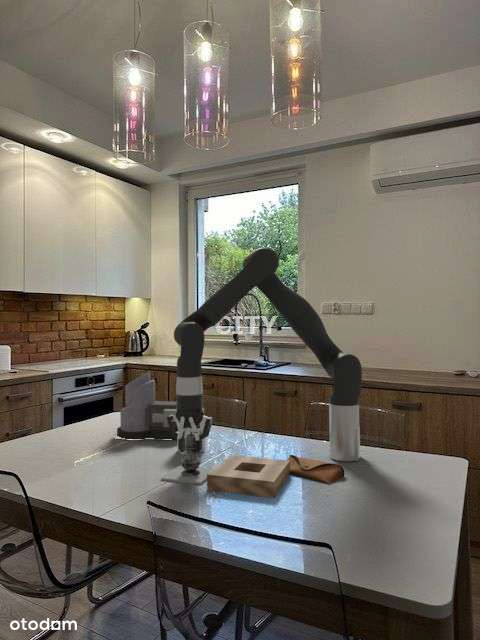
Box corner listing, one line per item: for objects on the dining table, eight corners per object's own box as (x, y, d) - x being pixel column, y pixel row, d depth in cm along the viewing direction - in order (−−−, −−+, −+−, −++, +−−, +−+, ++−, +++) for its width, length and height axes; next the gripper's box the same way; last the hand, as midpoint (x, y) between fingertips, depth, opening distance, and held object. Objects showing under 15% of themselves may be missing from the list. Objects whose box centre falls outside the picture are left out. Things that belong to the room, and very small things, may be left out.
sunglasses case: (274, 471, 133) (280, 449, 136) (285, 478, 138) (291, 456, 141) (331, 485, 123) (337, 460, 125) (341, 491, 127) (346, 467, 130)
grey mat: (217, 470, 135) (217, 468, 135) (201, 484, 124) (201, 482, 124) (180, 466, 139) (180, 464, 139) (161, 480, 128) (161, 477, 128)
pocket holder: (290, 474, 131) (289, 460, 131) (274, 497, 114) (273, 481, 114) (230, 468, 137) (230, 455, 137) (206, 489, 120) (206, 474, 120)
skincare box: (199, 447, 160) (198, 404, 160) (205, 452, 155) (205, 407, 155) (176, 450, 156) (175, 407, 156) (181, 455, 151) (181, 410, 151)
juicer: (106, 439, 172) (105, 374, 172) (124, 429, 188) (123, 369, 188) (183, 442, 167) (183, 375, 167) (195, 432, 183) (195, 370, 183)
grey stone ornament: (197, 477, 128) (198, 434, 128) (177, 475, 129) (178, 432, 129) (203, 470, 134) (204, 429, 134) (184, 468, 135) (184, 427, 135)
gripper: (217, 391, 133) (218, 450, 133) (173, 389, 137) (173, 446, 137) (207, 395, 126) (208, 458, 126) (160, 393, 130) (161, 453, 130)
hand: (190, 451), depth 131 cm, fingers open, 4 cm apart
